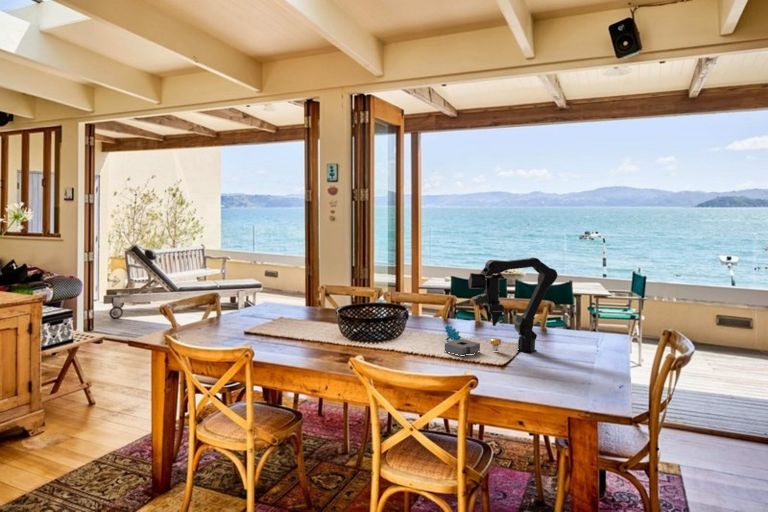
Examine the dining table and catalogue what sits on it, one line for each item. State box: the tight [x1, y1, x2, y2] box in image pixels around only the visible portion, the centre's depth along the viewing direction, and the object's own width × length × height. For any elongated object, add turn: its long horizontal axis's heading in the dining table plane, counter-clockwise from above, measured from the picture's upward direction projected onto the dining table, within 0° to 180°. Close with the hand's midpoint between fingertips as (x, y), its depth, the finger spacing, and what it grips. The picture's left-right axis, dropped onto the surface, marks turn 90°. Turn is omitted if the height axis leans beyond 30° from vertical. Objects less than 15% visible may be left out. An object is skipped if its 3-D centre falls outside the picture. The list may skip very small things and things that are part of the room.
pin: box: [490, 337, 502, 352], centre depth 218 cm, size 4×4×6 cm
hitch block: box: [444, 338, 481, 355], centre depth 217 cm, size 12×12×4 cm
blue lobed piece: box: [444, 324, 462, 341], centre depth 236 cm, size 11×6×10 cm
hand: (491, 323), depth 218 cm, fingers open, 9 cm apart
